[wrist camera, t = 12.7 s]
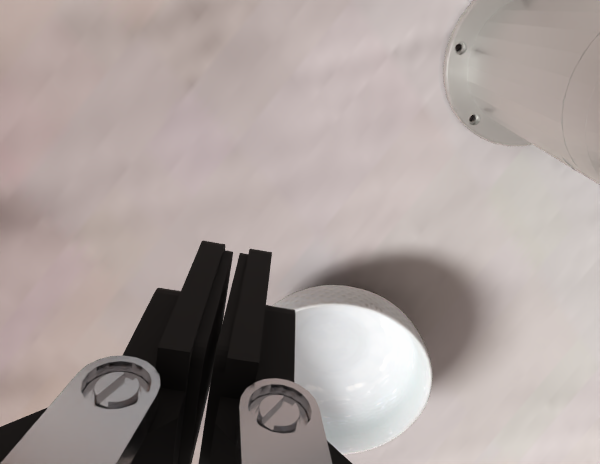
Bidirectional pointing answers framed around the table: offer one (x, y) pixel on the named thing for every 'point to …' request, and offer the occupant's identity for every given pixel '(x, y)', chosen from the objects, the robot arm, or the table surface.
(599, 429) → the table surface
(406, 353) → the cereal bowl
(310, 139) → the table surface
